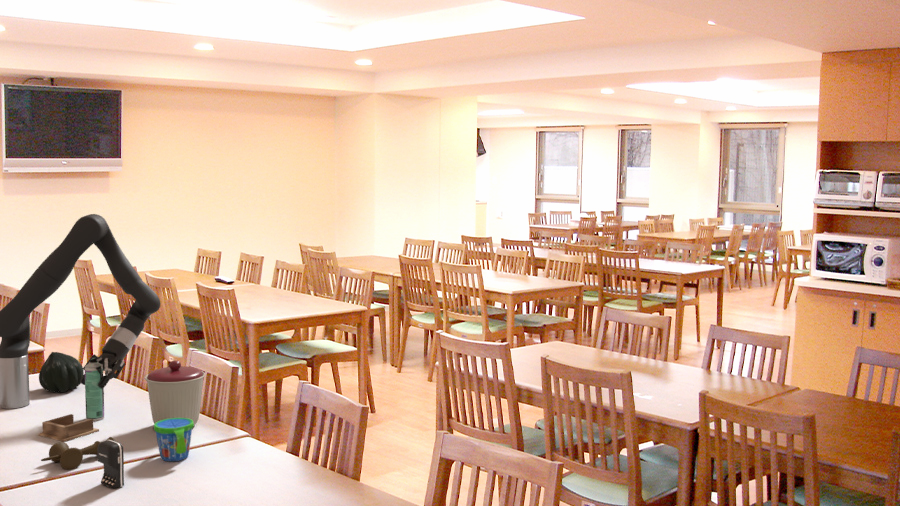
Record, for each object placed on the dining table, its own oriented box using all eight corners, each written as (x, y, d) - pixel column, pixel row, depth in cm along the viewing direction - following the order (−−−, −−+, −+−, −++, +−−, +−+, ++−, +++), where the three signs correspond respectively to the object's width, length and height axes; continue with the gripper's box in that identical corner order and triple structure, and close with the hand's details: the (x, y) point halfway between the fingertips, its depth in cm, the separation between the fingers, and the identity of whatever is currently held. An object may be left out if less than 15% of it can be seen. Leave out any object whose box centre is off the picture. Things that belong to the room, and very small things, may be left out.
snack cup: (151, 451, 236) (150, 417, 235) (189, 447, 241) (189, 413, 240) (158, 469, 222) (157, 433, 221) (198, 464, 227) (197, 428, 226)
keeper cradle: (38, 435, 249) (38, 422, 249) (73, 425, 260) (73, 412, 260) (64, 441, 244) (64, 428, 243) (99, 431, 254) (98, 418, 254)
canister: (159, 439, 247) (158, 370, 245) (136, 424, 261) (135, 359, 259) (215, 427, 259) (214, 361, 257) (191, 414, 273) (190, 352, 271)
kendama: (122, 459, 232) (48, 475, 217) (106, 452, 238) (34, 467, 224) (121, 438, 231) (47, 453, 217) (106, 431, 238) (33, 445, 223)
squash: (97, 373, 303) (76, 341, 306) (63, 384, 290) (41, 350, 292) (78, 395, 309) (57, 363, 311) (44, 406, 295) (22, 373, 298)
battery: (96, 484, 211) (94, 441, 210) (109, 480, 214) (108, 437, 213) (111, 491, 207) (110, 447, 206) (125, 486, 210) (124, 443, 209)
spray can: (107, 416, 269) (106, 356, 267) (98, 421, 264) (97, 360, 262) (91, 415, 270) (90, 355, 268) (82, 420, 264) (80, 359, 262)
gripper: (98, 335, 274) (68, 376, 266) (127, 340, 268) (98, 382, 259) (112, 348, 280) (83, 388, 271) (141, 353, 273) (113, 394, 264)
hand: (91, 385), depth 265 cm, fingers open, 8 cm apart
